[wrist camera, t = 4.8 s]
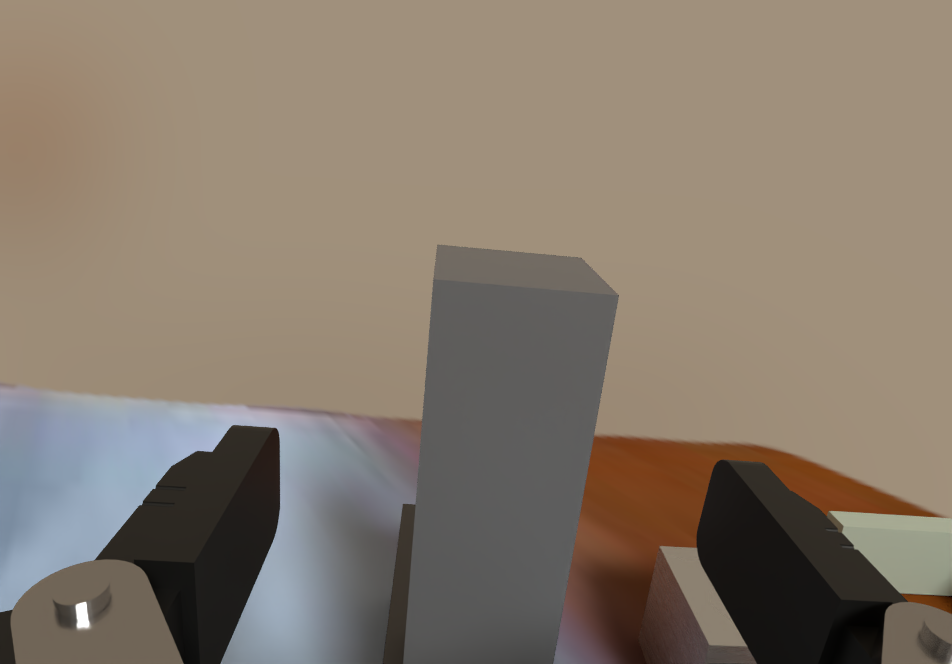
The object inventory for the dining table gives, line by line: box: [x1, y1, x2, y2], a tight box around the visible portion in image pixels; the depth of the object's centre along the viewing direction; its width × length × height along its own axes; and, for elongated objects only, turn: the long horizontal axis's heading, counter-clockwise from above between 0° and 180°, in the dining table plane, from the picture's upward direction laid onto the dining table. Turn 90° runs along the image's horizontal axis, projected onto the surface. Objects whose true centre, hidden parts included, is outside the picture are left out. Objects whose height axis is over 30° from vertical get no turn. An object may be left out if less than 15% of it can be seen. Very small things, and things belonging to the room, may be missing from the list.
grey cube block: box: [638, 546, 757, 664], centre depth 19 cm, size 4×4×4 cm
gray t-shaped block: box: [383, 245, 619, 664], centre depth 13 cm, size 4×14×14 cm, turn 2°
